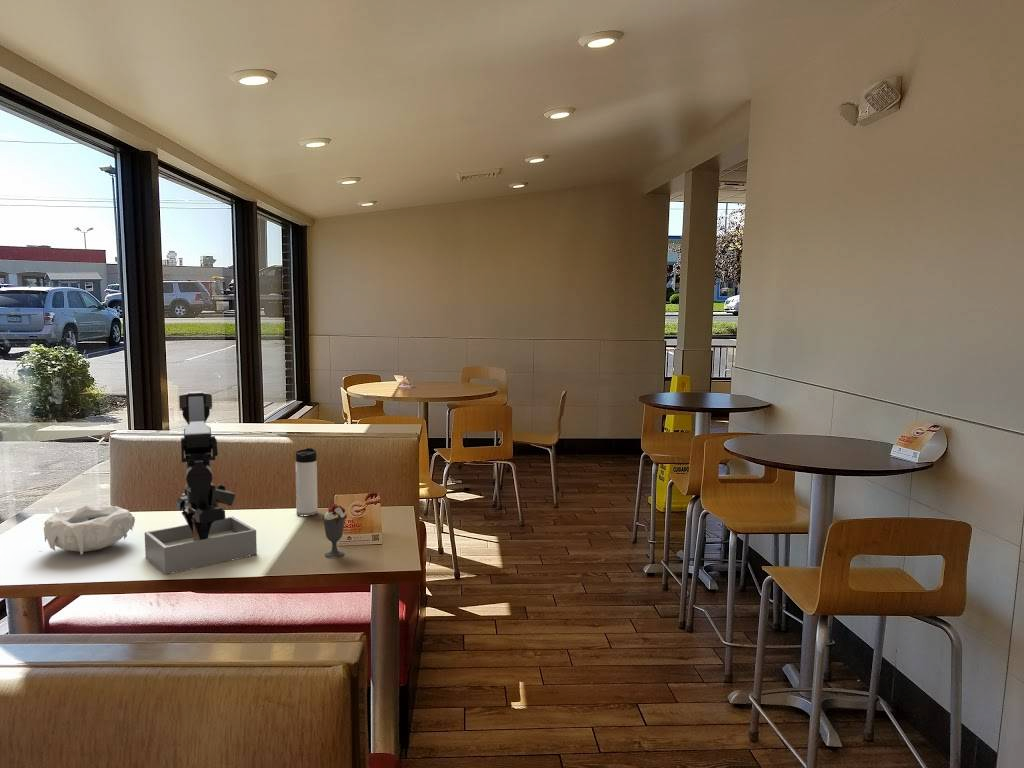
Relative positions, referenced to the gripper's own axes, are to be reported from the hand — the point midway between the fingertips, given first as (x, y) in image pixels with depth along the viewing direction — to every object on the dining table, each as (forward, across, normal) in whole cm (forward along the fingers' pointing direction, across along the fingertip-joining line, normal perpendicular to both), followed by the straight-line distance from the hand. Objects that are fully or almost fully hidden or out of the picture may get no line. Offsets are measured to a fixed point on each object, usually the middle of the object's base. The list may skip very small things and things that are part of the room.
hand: (201, 541), depth 182 cm
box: (+4, 0, 0) cm, 4 cm away
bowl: (+4, +24, +20) cm, 31 cm away
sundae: (+4, -21, -26) cm, 34 cm away
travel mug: (+4, +19, -38) cm, 43 cm away
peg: (+3, 0, 0) cm, 3 cm away
